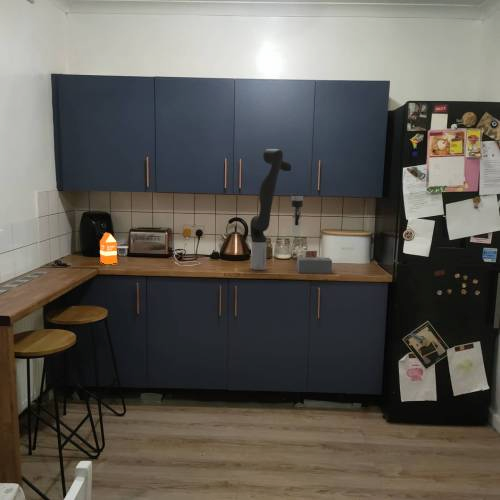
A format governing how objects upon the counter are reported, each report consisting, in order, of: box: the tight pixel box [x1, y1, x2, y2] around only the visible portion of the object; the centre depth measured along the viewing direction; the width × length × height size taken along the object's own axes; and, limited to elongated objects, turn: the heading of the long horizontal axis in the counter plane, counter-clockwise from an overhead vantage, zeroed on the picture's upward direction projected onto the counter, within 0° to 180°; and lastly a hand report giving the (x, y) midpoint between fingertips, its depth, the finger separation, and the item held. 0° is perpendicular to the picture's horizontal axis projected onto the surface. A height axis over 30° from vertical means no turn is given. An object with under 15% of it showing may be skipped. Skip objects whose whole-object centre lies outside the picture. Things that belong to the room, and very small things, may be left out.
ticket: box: [290, 214, 303, 237], centre depth 313 cm, size 6×1×14 cm, turn 90°
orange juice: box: [99, 232, 118, 265], centre depth 297 cm, size 8×9×20 cm
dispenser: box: [296, 256, 333, 274], centre depth 283 cm, size 20×10×9 cm, turn 91°
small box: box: [302, 249, 318, 258], centre depth 302 cm, size 8×6×10 cm
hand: (296, 225), depth 313 cm, fingers closed on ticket, 1 cm apart
